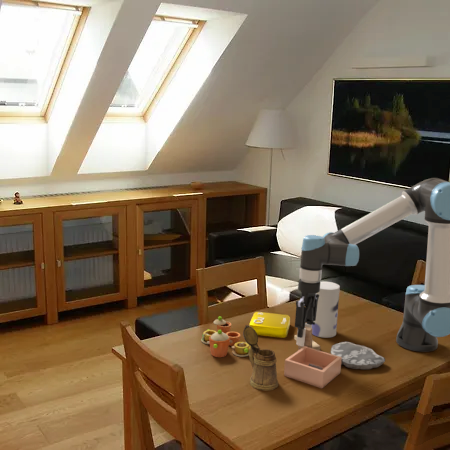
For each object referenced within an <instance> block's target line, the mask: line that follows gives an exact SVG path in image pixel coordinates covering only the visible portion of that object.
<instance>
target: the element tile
mask: <svg viewBox="0 0 450 450" xmlns="http://www.w3.org/2000/svg"><path fill="white" fill-rule="evenodd" d="M290 325H291V317H290V316H289V314H282V313H281V314H280V313H272V312H263V311H262V312H261V311H254V312H253V315H252V317H251V319H250V322H249V325H248V326H251V327H252V328H253V329H254V330H255V331H256V333H257V335H258V336H262V337H271V338H279V339H280V338H281V339H282V338H283V339H285V338H287V337H288V333H289V329H290Z"/></svg>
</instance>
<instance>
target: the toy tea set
mask: <svg viewBox="0 0 450 450" xmlns="http://www.w3.org/2000/svg"><path fill="white" fill-rule="evenodd" d="M213 324H214V325H216V329H217V330H213V329H209V328H208V329H207V330H205V331H203V333H202V337H201V340H200V341H201V343H202V344H204V345H209V349H210V355H211V356H212V357H215V358H225V357H226V356H227V355H228V353H229V352H228V351H229V346H231V349H232V351H231V353H232V354H233V355H234V356H236V357H241V358H243V357H249V349H250V347H251V346H250V345H249V344H248V343H247V342H246V341H240V340H241V333H239V332H238V331H231V328H232V323H231V322H230V321H226V320H224V319H223V317H222V316H220V315H219V316H218V317H217V318H216V319H215V320H214V321H213Z"/></svg>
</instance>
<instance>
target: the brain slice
mask: <svg viewBox="0 0 450 450" xmlns="http://www.w3.org/2000/svg"><path fill="white" fill-rule="evenodd" d="M330 354H333V355H336V356H340V357H342V360H341V365H344V367H346V368H349V369H353V370H372V369H373V368H379V367H380V366H382V365H383V364H384V363H385V362H386V358H385V357H383V356H382V355H379V354H377V353H376V352H375V351H374V350H373V349H372V348H370V347H367V346H365V345H360V344H355V343H354V342H350V341H341V342H339V343H335V344H333V345H332V344H331V348H330Z"/></svg>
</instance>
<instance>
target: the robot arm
mask: <svg viewBox="0 0 450 450" xmlns="http://www.w3.org/2000/svg"><path fill="white" fill-rule="evenodd" d="M422 212H424V221H425V223H426V224H427V225H428V231H427V233H428V234H427V248H426V259H425V260H426V261H425V262H426V264H425V277H424V284H411V285H409V286H407V288H406V292H405V293H404V294H405V298H404V299H405V300H404V308H403V317H402V318H403V319H402V323H401V325H400V327H399V329H398V331H397V334H396V338H395V339H396V340H395V341H396V343H397V345H398V346H400V347H401V348H404V349H406V350H409V351H414V352H419V353H420V352H421V353H427V352H434V351H436V350H437V349H438V346H439V340H438V338H443V337H447V336H448V335H450V181H448V180H444V179H442V178H438V177H431V178H428V179H424V180H423V181H419V182H418V183H416V184H415V185H412V186H411V187H409V188H407V189H405V190H403V191H402V192H401V195H400V196H398V197H396V198H395V199H393V200H391V201H389V202H388V203H385V204H384V205H381V206H380V207H378V208H377V209H375V210H374V211H371V212H370V213H368V214H366V215H364V216H362V217H361V218H359V219H357V220H355V221H353V222H352V223H350V224H348V225H345V226H344V227H342V228H341V229H338V230H336V231H335V232H332V231H330V232H326V233H325V234H324V235H323V236H321V235H315V234H307V235H305V236H304V237H303V238H302V244H301V254H300V264H299V265H300V267H299V269H298V271H299V274H298V275H299V276H298V277H299V279H298V285H297V289H298V291H299V292H300V297H299V298H300V299H299V300H295V307H296V308H295V317H294V327H295V328H296V329H297V333H296V335H297V341H295V342H296V344H295V345H297V346H298V345H299V346H302V347H304V342H305V332H306V329H305V326H306V327H309V328H312V324H313V325H315V322H313V321H315V320H316V313H317V304H318V299H319V294H316V293H318V292H319V291H320V282H321V280H322V271H323V265H326V266H327V265H329V266H331V265H332V266H341V267H342V266H343V267H344V266H345V267H351V266H352V267H354V266H357V265H358V263H359V261H360V260H359V259H360V249H359V247H358V244H359V243H361V242H363V241H365V240H366V239H368V238H370V237H372V236H374V235H376V234H378V233H380V232H381V231H383V230H385V229H387V228H388V227H390V226H392V225H394V224H395V223H398V222H400V221H402V220H404V219H405V218H408V217H409V216H411V215H416V216H417V215H418V214H420V213H422Z"/></svg>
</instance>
